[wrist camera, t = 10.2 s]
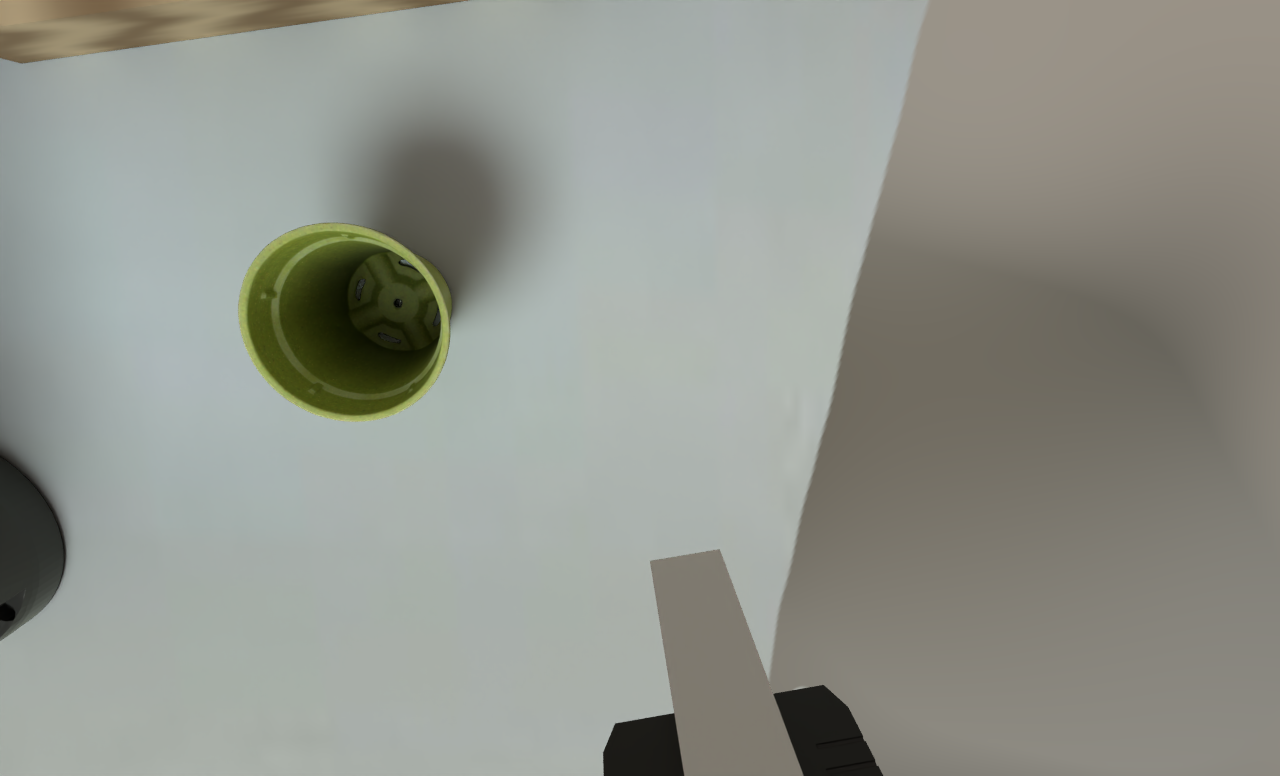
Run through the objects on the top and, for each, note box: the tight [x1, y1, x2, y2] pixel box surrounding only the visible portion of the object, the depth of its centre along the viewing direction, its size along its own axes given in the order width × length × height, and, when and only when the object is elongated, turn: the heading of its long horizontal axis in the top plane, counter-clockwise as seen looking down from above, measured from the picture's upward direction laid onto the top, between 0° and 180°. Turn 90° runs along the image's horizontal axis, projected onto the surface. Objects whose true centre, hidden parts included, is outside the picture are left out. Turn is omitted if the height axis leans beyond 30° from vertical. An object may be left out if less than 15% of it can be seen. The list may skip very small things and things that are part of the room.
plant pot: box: [238, 223, 452, 422], centre depth 33 cm, size 9×9×9 cm
